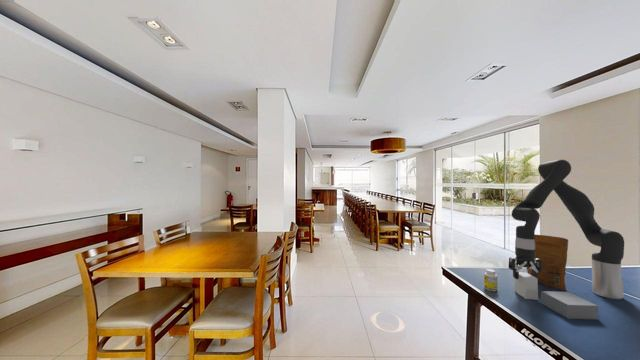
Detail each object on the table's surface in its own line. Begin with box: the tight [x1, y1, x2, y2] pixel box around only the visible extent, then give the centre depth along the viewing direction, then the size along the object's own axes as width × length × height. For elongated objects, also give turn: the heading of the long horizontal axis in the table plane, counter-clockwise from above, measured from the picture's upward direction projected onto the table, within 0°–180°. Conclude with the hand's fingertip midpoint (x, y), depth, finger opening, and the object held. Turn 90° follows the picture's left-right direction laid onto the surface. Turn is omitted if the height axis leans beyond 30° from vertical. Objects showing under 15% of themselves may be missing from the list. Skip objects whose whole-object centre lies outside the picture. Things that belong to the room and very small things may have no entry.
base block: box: [540, 290, 599, 320], centre depth 99 cm, size 12×12×6 cm
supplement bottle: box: [483, 268, 498, 292], centre depth 119 cm, size 6×6×10 cm
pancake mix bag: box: [525, 233, 569, 291], centre depth 126 cm, size 7×19×28 cm, turn 27°
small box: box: [514, 271, 539, 301], centre depth 113 cm, size 8×6×10 cm
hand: (524, 278), depth 113 cm, fingers open, 8 cm apart
